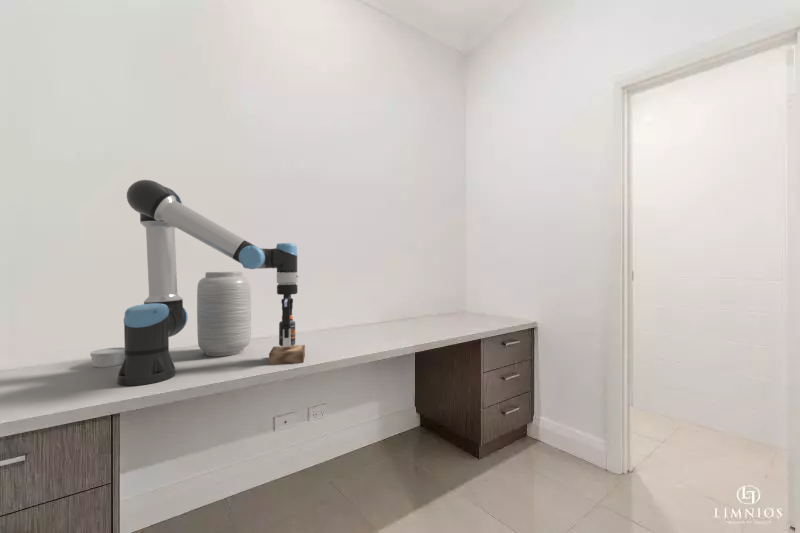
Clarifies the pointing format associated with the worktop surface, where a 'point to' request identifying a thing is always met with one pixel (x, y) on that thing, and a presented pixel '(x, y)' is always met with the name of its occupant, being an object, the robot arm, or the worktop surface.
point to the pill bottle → (292, 327)
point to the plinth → (287, 354)
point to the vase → (223, 313)
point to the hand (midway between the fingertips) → (287, 344)
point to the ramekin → (108, 357)
